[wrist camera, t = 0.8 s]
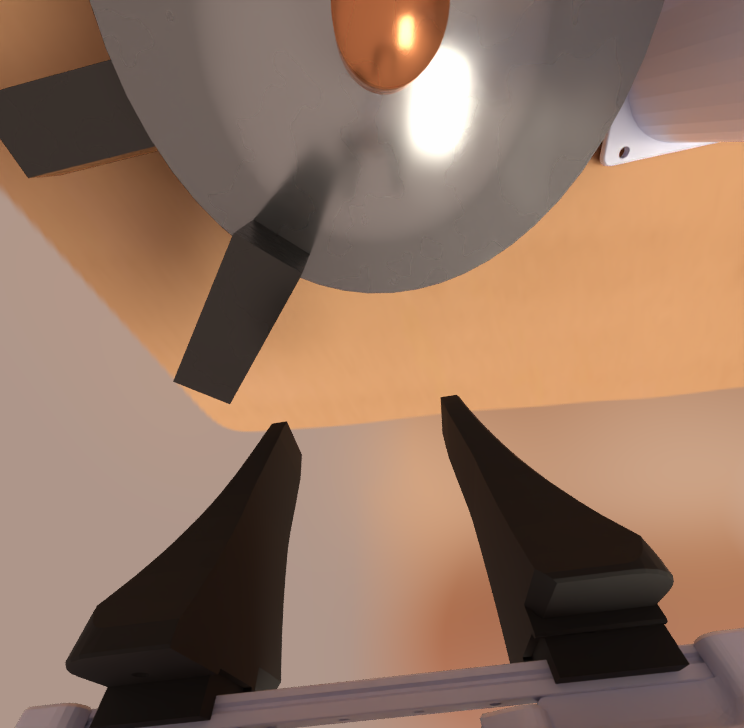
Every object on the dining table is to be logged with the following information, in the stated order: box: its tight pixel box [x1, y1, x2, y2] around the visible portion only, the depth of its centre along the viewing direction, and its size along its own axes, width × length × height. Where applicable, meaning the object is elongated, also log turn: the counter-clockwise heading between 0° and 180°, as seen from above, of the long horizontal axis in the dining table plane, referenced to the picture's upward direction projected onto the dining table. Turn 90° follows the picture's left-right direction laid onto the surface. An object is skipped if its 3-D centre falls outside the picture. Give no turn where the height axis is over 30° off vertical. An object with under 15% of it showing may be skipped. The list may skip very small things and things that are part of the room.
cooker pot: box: [0, 60, 158, 178], centre depth 12 cm, size 22×16×5 cm
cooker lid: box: [90, 0, 664, 404], centre depth 10 cm, size 22×16×3 cm
